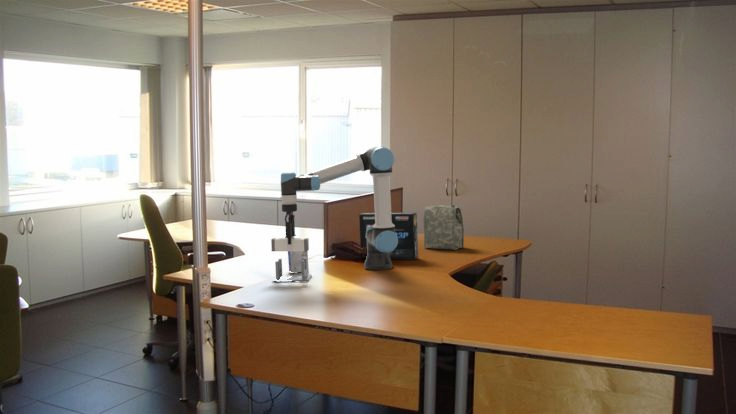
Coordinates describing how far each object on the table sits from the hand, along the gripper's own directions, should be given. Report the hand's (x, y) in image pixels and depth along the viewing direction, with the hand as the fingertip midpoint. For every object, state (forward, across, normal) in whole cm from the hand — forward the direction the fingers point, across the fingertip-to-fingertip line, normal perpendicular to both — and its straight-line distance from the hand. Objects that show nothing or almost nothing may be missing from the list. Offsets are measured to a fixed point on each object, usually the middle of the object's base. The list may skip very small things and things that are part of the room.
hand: (291, 249), depth 343 cm
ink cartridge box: (+15, -20, 0) cm, 25 cm away
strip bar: (0, 0, 0) cm, 1 cm away
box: (+15, -57, +47) cm, 75 cm away
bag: (+14, -91, +80) cm, 122 cm away
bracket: (+15, 0, 0) cm, 15 cm away
